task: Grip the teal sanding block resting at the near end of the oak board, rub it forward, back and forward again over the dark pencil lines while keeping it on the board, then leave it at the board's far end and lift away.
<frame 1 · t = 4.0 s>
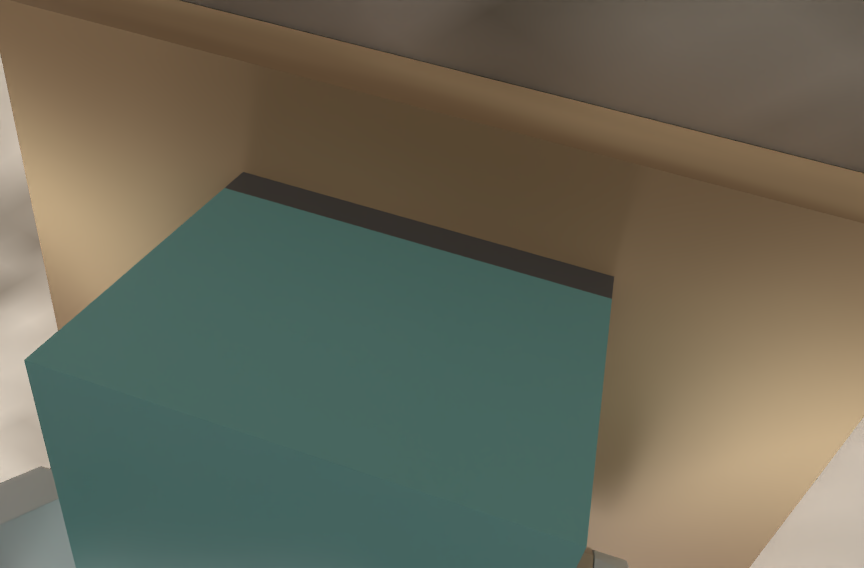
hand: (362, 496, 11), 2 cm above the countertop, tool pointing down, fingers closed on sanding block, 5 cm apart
sanding block: (381, 452, 12), point 2 cm above the countertop, touching gripper, oak board
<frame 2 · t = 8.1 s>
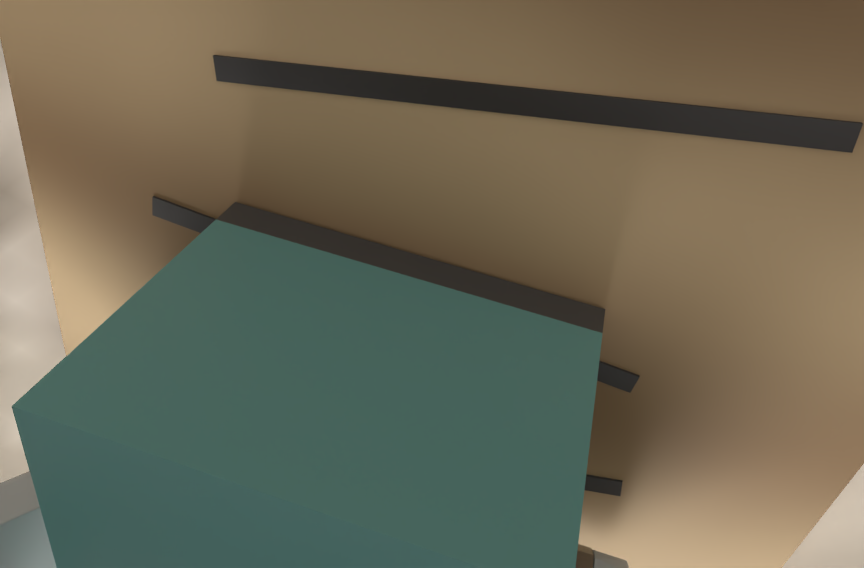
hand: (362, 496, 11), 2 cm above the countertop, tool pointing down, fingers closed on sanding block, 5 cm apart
sanding block: (375, 476, 12), point 2 cm above the countertop, touching gripper
oak board: (449, 246, 11), on the countertop
when the fingers open (2 cm above the countertop, at t = 12.7 s): sanding block stays where it is, resting on oak board.
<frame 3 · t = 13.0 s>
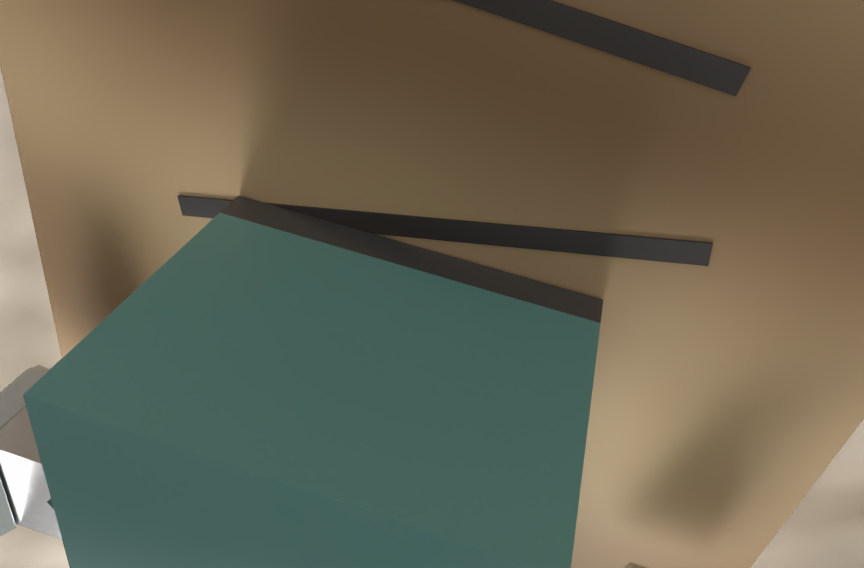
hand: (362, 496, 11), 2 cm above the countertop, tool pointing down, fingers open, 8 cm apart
sanding block: (377, 466, 12), point 2 cm above the countertop, touching oak board
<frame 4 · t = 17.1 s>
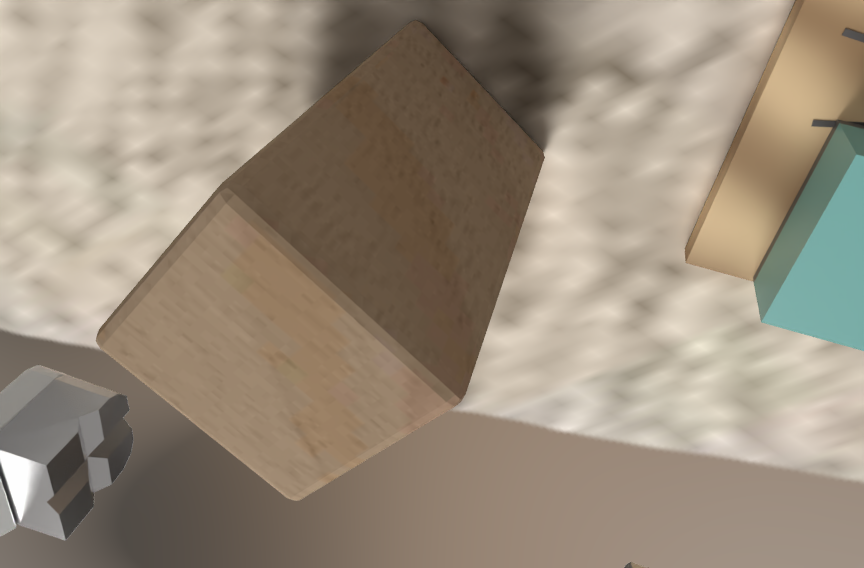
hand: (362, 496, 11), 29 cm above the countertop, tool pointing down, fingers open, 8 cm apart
sanding block: (843, 217, 34), point 2 cm above the countertop, touching oak board
wooden block: (424, 143, 40), on the countertop
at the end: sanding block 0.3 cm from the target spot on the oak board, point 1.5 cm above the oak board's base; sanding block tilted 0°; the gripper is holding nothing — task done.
